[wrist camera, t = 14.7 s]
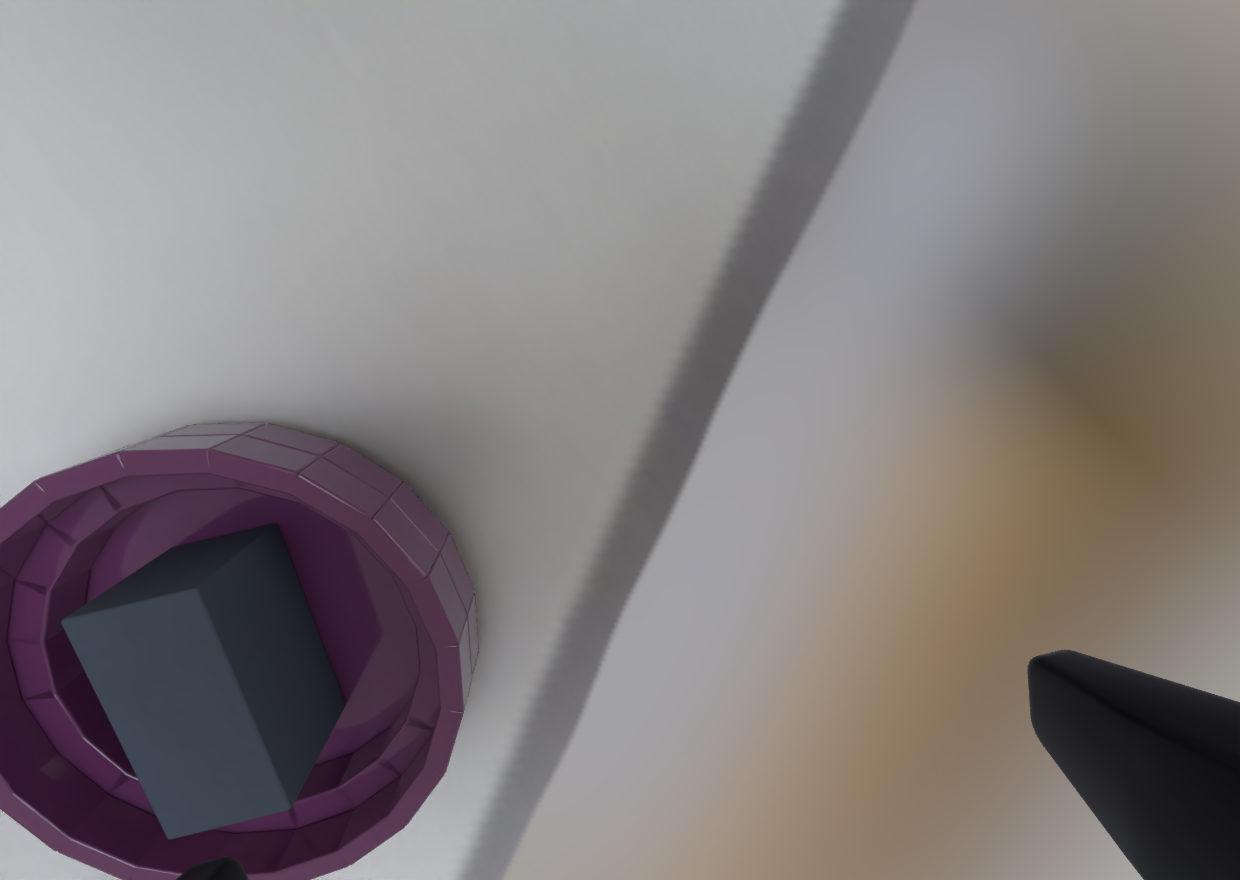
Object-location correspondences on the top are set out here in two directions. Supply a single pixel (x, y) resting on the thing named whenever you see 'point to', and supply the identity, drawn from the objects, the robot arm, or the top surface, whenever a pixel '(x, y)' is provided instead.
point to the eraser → (212, 679)
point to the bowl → (339, 603)
